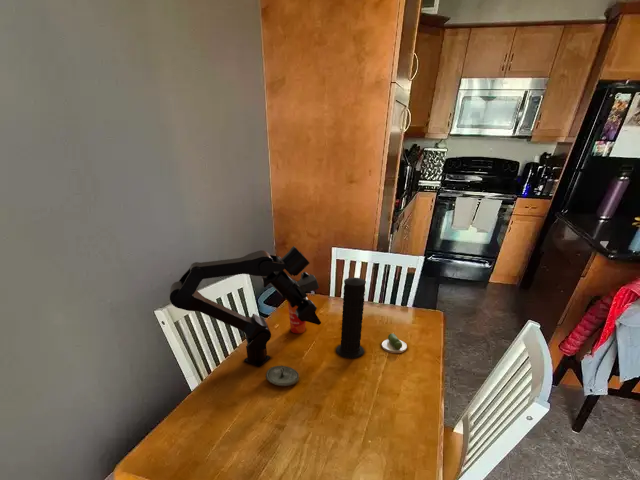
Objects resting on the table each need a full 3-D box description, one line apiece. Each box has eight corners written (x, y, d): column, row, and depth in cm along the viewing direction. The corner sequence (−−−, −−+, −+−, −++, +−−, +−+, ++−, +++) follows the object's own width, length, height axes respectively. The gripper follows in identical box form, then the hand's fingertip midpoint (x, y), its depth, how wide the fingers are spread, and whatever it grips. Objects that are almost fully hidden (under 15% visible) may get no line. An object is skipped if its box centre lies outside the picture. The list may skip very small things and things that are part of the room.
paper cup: (285, 327, 143) (283, 293, 135) (303, 323, 146) (302, 290, 137) (292, 336, 137) (291, 301, 129) (311, 332, 140) (311, 298, 132)
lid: (264, 378, 118) (259, 367, 114) (291, 364, 120) (287, 353, 116) (276, 397, 110) (272, 386, 107) (305, 382, 113) (301, 371, 109)
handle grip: (364, 359, 125) (364, 344, 133) (371, 285, 109) (371, 273, 118) (335, 357, 126) (336, 342, 134) (338, 283, 110) (340, 271, 118)
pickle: (410, 351, 129) (412, 342, 127) (386, 354, 128) (387, 345, 126) (401, 339, 136) (402, 330, 134) (378, 341, 135) (379, 332, 133)
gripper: (313, 278, 103) (344, 313, 113) (297, 258, 118) (325, 290, 127) (284, 304, 105) (317, 337, 115) (272, 281, 120) (302, 312, 129)
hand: (316, 317), depth 121 cm, fingers open, 9 cm apart
